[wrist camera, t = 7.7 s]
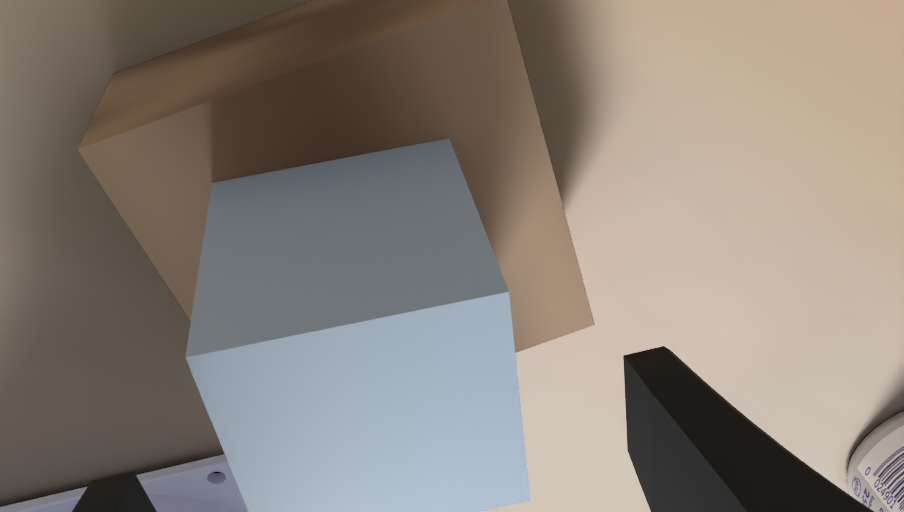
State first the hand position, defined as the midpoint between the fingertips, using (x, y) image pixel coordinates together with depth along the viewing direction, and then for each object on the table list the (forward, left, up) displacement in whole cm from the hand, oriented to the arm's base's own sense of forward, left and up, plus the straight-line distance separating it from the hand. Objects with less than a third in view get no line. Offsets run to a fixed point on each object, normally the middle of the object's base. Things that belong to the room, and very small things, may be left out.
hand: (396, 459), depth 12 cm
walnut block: (0, 0, -10) cm, 10 cm away
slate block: (0, 0, -6) cm, 6 cm away
